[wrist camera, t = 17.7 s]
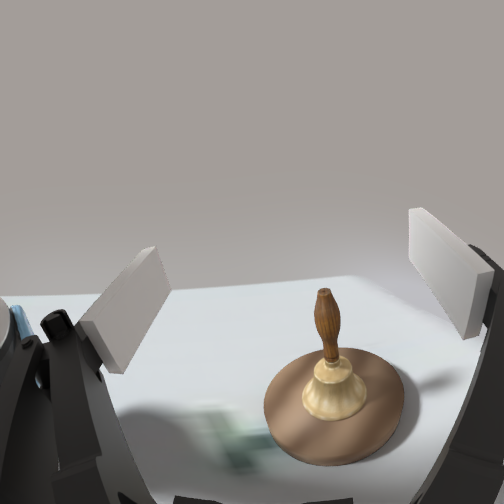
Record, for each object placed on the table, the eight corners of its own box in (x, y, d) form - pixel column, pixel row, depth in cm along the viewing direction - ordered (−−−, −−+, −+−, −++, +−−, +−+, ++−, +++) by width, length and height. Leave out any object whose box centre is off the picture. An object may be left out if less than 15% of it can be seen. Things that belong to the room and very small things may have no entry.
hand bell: (327, 433, 29) (319, 331, 23) (289, 393, 36) (267, 291, 30) (380, 394, 32) (388, 287, 26) (339, 362, 39) (331, 261, 33)
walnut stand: (240, 431, 35) (235, 419, 34) (310, 350, 47) (308, 336, 46) (366, 485, 24) (368, 477, 23) (416, 376, 36) (419, 362, 35)
